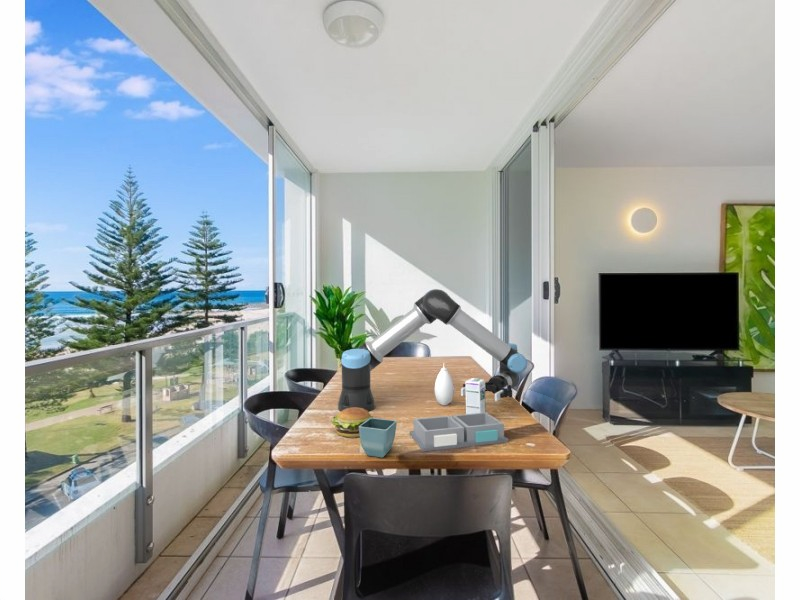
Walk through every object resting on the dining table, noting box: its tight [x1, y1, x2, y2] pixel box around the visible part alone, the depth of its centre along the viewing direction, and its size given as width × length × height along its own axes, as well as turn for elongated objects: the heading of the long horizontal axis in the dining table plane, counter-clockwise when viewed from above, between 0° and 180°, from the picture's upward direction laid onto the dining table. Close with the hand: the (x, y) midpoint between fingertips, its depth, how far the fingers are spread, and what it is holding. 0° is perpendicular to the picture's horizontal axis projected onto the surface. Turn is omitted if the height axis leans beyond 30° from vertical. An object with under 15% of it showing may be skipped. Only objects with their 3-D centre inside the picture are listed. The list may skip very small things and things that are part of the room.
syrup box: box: [464, 377, 487, 414], centre depth 147 cm, size 6×6×14 cm
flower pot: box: [359, 417, 398, 458], centre depth 115 cm, size 9×9×9 cm
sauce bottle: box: [434, 364, 455, 407], centre depth 165 cm, size 8×8×18 cm
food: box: [331, 407, 374, 438], centre depth 134 cm, size 14×14×8 cm
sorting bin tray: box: [409, 411, 509, 453], centre depth 127 cm, size 28×15×6 cm, turn 104°
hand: (478, 394), depth 147 cm, fingers open, 13 cm apart
